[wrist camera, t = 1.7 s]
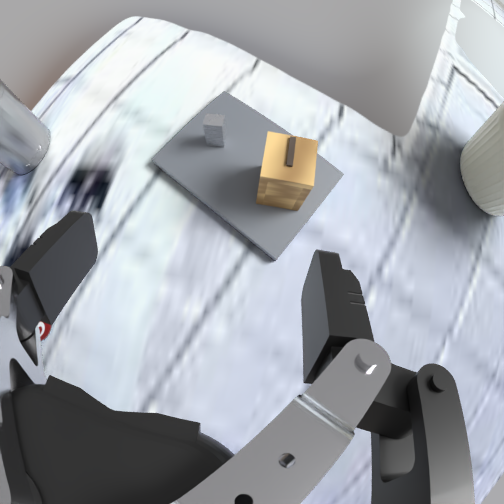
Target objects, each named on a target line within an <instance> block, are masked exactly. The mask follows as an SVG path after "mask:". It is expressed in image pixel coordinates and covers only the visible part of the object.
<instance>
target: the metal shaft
mask: <svg viewBox="0 0 504 504" xmlns="http://www.w3.org/2000/svg"><path fill="white" fill-rule="evenodd" d="M203 128H204V133H205V138H206V143H207V146H215V147H222V148H224V146H225V142H226V138H227V135H226V122H225V115H219V114H209V113H206V115H205V118H204V121H203Z"/></svg>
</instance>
